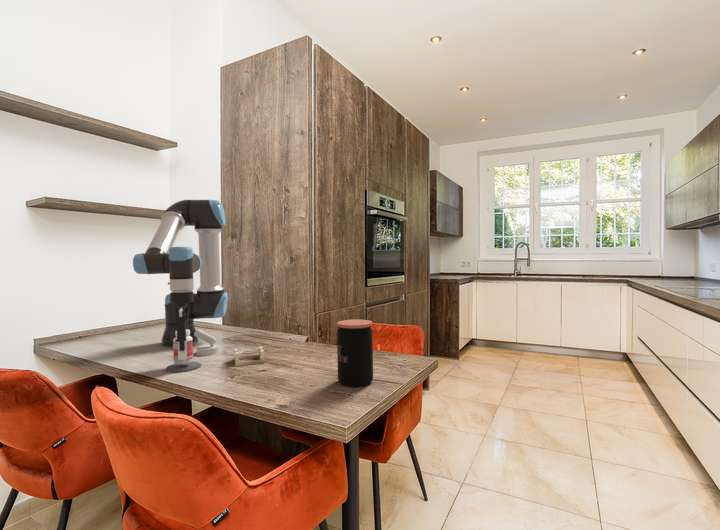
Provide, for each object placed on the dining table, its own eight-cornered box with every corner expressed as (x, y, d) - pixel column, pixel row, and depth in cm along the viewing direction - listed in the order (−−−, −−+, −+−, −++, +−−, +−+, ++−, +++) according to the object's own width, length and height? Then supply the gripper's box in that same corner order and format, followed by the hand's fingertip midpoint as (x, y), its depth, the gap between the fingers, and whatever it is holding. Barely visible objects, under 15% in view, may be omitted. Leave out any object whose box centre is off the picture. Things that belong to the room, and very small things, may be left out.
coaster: (168, 365, 136) (168, 363, 136) (201, 362, 140) (201, 360, 140) (164, 374, 126) (163, 372, 126) (200, 370, 130) (200, 368, 130)
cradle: (234, 358, 144) (234, 348, 144) (261, 356, 147) (261, 345, 147) (235, 366, 134) (235, 354, 134) (264, 362, 138) (264, 351, 138)
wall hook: (201, 327, 159) (223, 327, 157) (202, 350, 159) (224, 350, 157) (188, 331, 151) (211, 331, 149) (189, 355, 151) (211, 356, 149)
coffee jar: (337, 377, 120) (336, 319, 119) (371, 375, 121) (370, 318, 120) (338, 388, 109) (337, 325, 109) (375, 387, 110) (374, 324, 110)
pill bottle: (192, 359, 137) (192, 328, 137) (193, 363, 132) (192, 331, 131) (173, 361, 134) (172, 330, 134) (173, 365, 129) (172, 333, 129)
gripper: (172, 289, 140) (174, 352, 141) (166, 294, 122) (168, 365, 123) (195, 288, 143) (196, 350, 143) (191, 292, 125) (193, 363, 125)
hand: (183, 357), depth 133 cm, fingers closed on pill bottle, 6 cm apart
